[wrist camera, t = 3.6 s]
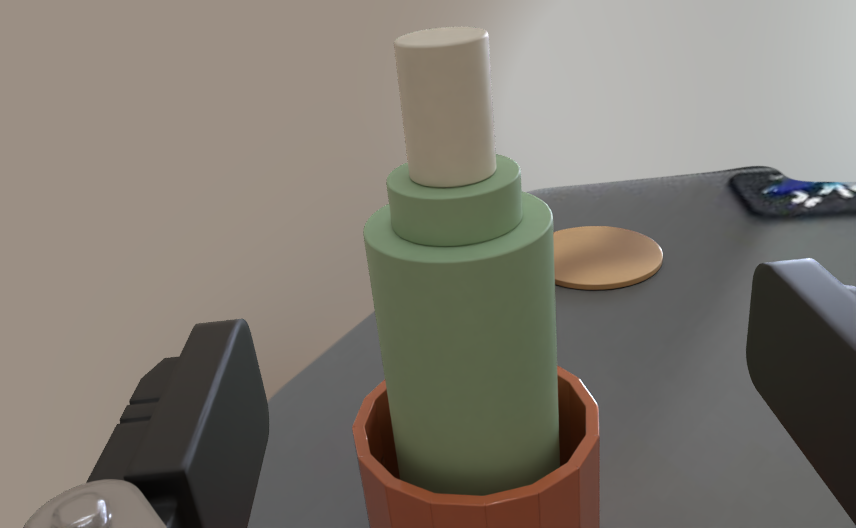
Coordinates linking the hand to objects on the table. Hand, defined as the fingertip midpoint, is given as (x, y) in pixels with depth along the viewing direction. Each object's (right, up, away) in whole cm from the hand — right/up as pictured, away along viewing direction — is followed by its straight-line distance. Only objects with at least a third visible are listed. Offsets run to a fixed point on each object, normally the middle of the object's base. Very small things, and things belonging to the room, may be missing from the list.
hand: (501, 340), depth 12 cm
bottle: (+1, -10, +17) cm, 20 cm away
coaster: (+10, +2, +40) cm, 41 cm away
